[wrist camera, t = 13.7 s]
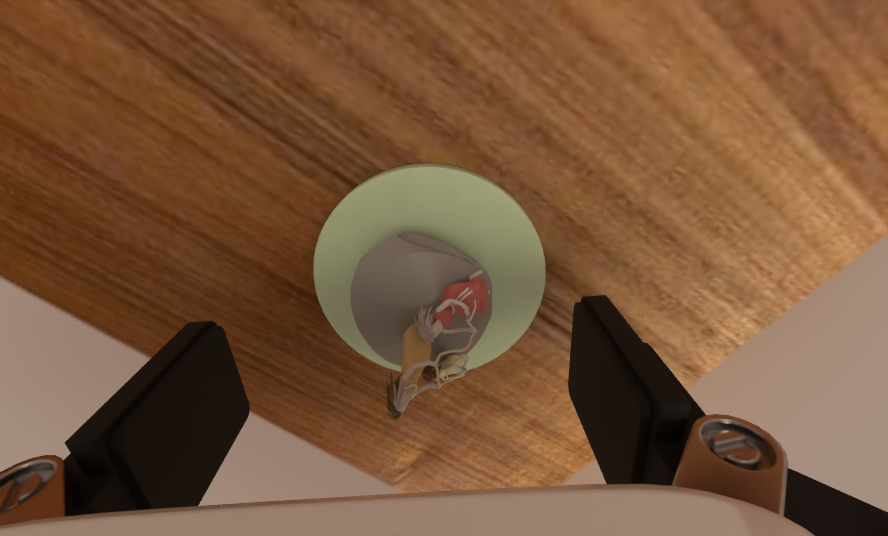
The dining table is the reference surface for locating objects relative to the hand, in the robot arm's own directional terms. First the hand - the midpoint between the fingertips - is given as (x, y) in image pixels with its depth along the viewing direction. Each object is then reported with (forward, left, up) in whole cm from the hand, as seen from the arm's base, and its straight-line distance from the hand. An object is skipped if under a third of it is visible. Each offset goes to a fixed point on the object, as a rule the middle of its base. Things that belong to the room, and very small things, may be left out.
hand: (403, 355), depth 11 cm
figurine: (+1, 0, -4) cm, 4 cm away
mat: (+1, 0, -5) cm, 5 cm away
